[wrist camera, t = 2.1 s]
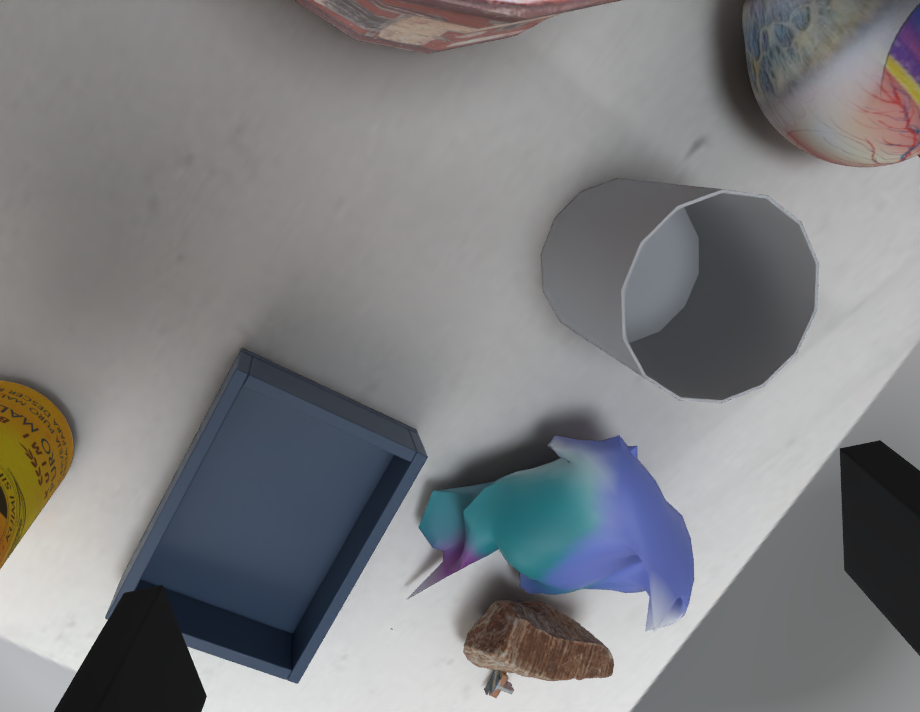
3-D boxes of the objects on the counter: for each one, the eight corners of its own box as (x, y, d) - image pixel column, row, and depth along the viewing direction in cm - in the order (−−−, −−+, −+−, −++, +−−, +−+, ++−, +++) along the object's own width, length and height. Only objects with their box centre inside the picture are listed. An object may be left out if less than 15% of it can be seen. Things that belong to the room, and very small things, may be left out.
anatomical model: (837, -77, 38) (964, -217, 28) (979, 127, 39) (1154, 60, 29) (673, 42, 39) (742, -54, 29) (815, 244, 39) (931, 217, 29)
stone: (611, 592, 42) (625, 688, 39) (545, 624, 46) (553, 714, 43) (505, 563, 39) (511, 665, 36) (444, 601, 43) (444, 696, 40)
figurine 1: (380, 646, 42) (382, 656, 41) (396, 619, 42) (398, 628, 41) (502, 696, 44) (506, 707, 43) (518, 670, 44) (522, 680, 43)
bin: (121, 576, 38) (104, 619, 35) (241, 347, 36) (236, 368, 33) (297, 639, 41) (298, 684, 38) (417, 429, 39) (428, 456, 36)
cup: (610, 374, 41) (705, 443, 31) (507, 265, 38) (576, 305, 29) (725, 260, 40) (856, 295, 31) (629, 143, 38) (741, 141, 28)
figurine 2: (482, 529, 48) (394, 599, 40) (528, 358, 43) (438, 404, 36) (680, 643, 42) (618, 749, 35) (757, 461, 37) (705, 540, 30)
